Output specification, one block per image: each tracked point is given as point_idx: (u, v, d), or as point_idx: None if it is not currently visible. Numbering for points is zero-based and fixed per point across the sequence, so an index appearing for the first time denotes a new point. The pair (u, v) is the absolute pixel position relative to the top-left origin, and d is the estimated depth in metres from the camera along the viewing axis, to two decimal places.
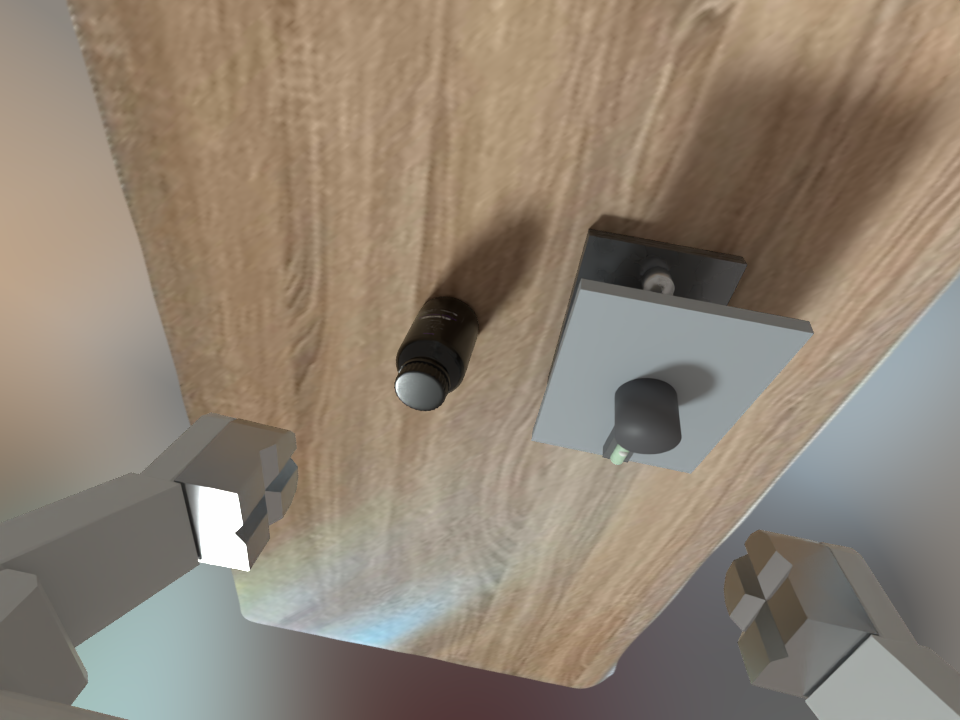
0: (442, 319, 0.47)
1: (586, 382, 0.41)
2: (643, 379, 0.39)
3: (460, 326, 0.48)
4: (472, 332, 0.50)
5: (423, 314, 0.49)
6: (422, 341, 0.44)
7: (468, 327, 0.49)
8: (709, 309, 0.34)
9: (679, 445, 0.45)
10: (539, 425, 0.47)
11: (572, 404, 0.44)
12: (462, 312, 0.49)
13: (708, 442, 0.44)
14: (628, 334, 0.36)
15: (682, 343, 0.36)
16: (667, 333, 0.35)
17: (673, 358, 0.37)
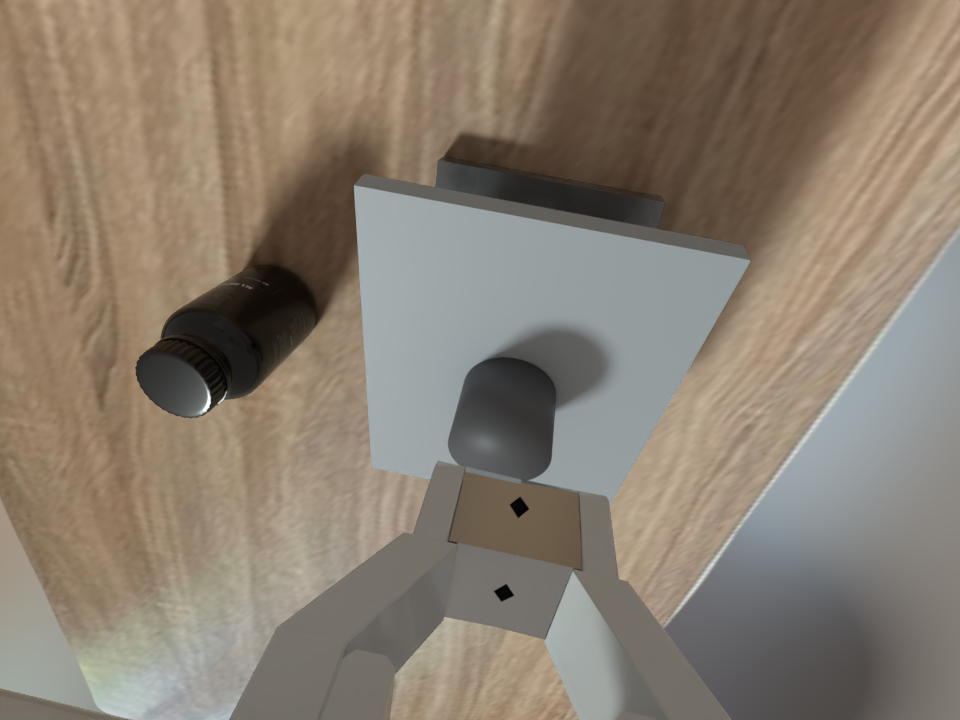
0: (240, 287, 0.33)
1: (416, 368, 0.26)
2: (497, 359, 0.25)
3: (268, 298, 0.33)
4: (294, 311, 0.35)
5: (221, 283, 0.34)
6: (189, 311, 0.30)
7: (286, 302, 0.34)
8: (573, 221, 0.20)
9: (577, 472, 0.30)
10: (374, 443, 0.31)
11: (408, 407, 0.28)
12: (280, 283, 0.35)
13: (617, 466, 0.29)
14: (454, 275, 0.22)
15: (542, 289, 0.22)
16: (514, 270, 0.21)
17: (535, 320, 0.23)
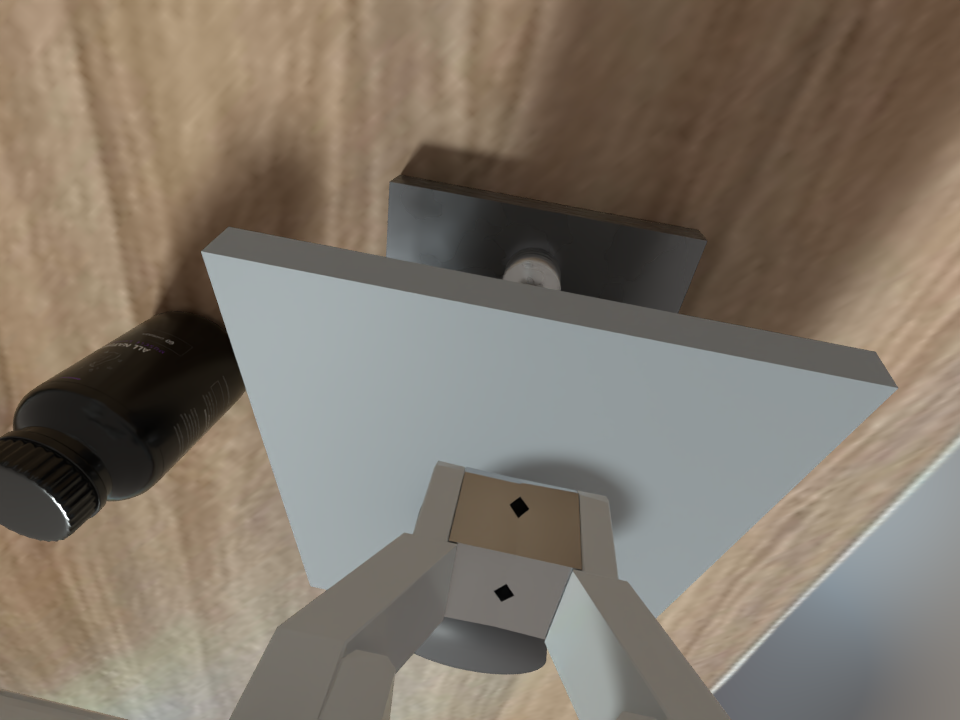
0: (130, 351, 0.24)
1: (350, 492, 0.18)
2: None
3: (169, 364, 0.25)
4: (211, 375, 0.27)
5: (113, 340, 0.26)
6: (44, 394, 0.21)
7: (198, 366, 0.26)
8: (582, 313, 0.11)
9: None
10: (308, 564, 0.23)
11: (346, 532, 0.20)
12: (193, 339, 0.27)
13: None
14: (388, 385, 0.14)
15: (530, 411, 0.13)
16: (482, 382, 0.13)
17: (519, 448, 0.14)
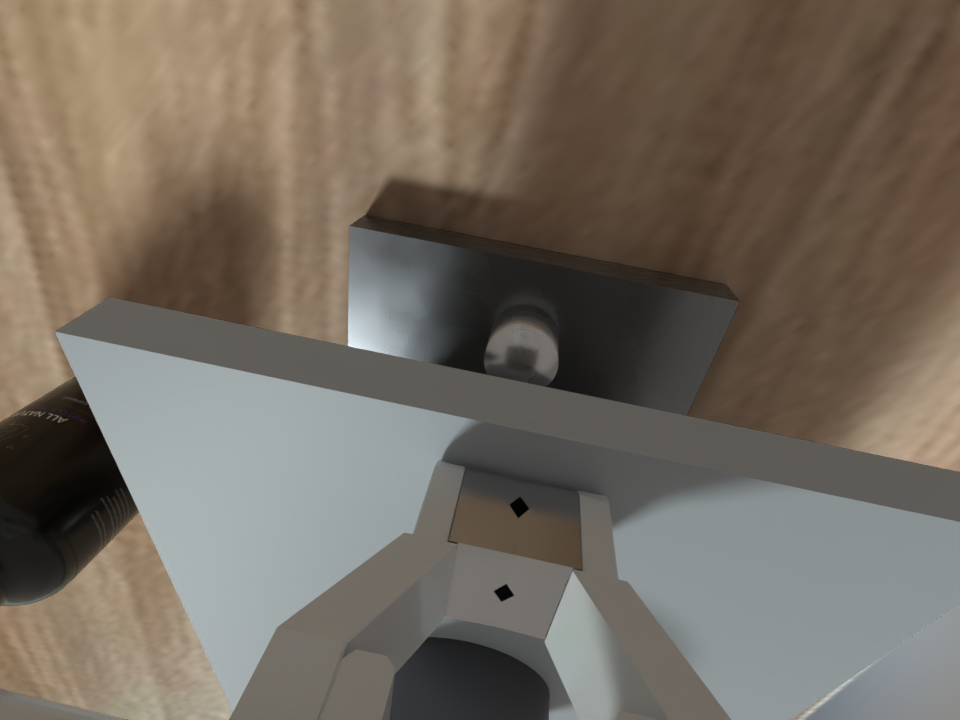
0: (41, 422, 0.20)
1: None
2: (431, 643, 0.12)
3: (91, 436, 0.21)
4: None
5: (28, 405, 0.22)
6: None
7: None
8: (589, 422, 0.08)
9: None
10: None
11: None
12: None
13: None
14: (323, 510, 0.10)
15: None
16: None
17: None
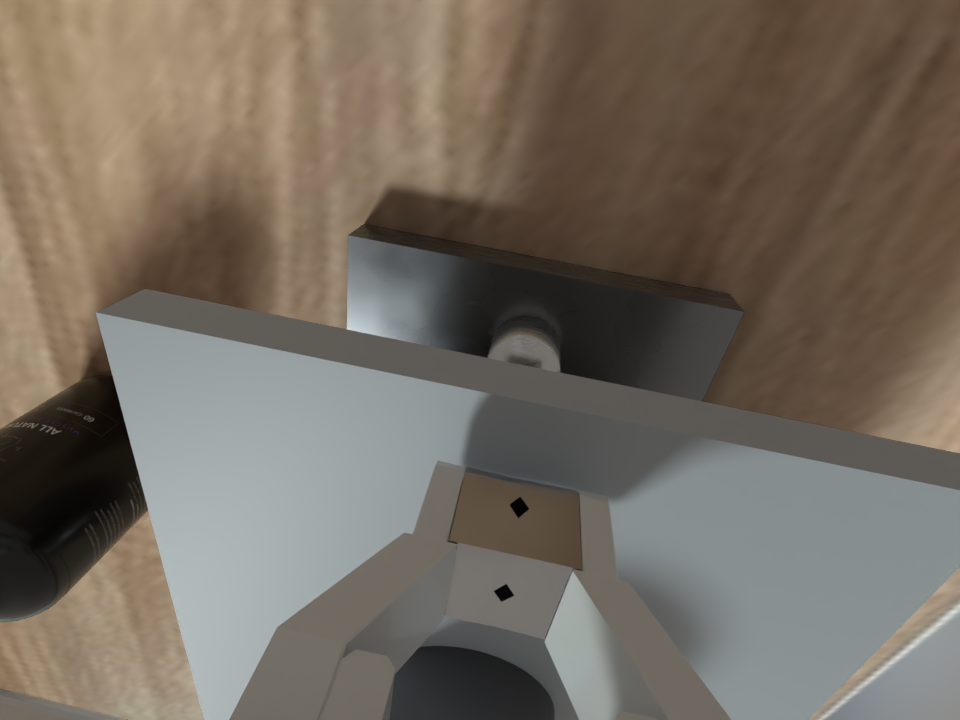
0: (34, 434, 0.20)
1: None
2: (434, 652, 0.12)
3: (84, 448, 0.20)
4: None
5: (21, 416, 0.22)
6: None
7: (124, 446, 0.22)
8: (594, 399, 0.09)
9: None
10: None
11: None
12: (120, 413, 0.22)
13: None
14: (335, 498, 0.10)
15: None
16: None
17: None
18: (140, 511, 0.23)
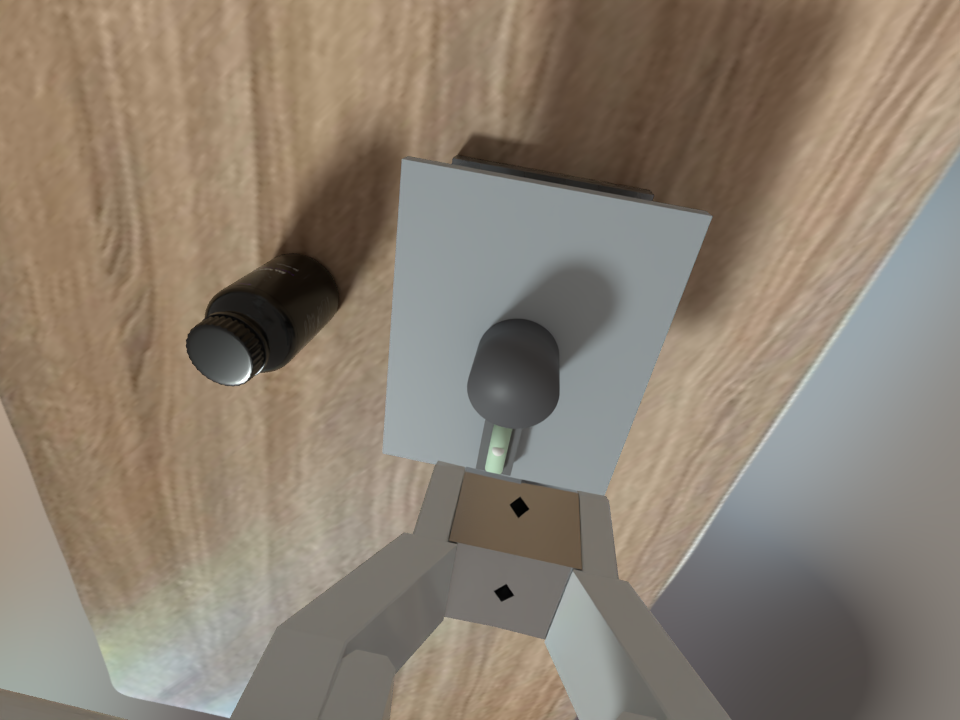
0: (274, 272, 0.36)
1: (436, 334, 0.30)
2: (509, 320, 0.29)
3: (298, 282, 0.37)
4: (321, 294, 0.39)
5: (256, 269, 0.38)
6: (232, 291, 0.33)
7: (314, 286, 0.38)
8: (573, 188, 0.25)
9: (578, 445, 0.32)
10: (388, 422, 0.34)
11: (425, 378, 0.31)
12: (308, 270, 0.39)
13: (614, 435, 0.32)
14: (476, 238, 0.27)
15: (549, 249, 0.26)
16: (526, 231, 0.26)
17: (542, 279, 0.27)
18: (318, 328, 0.39)
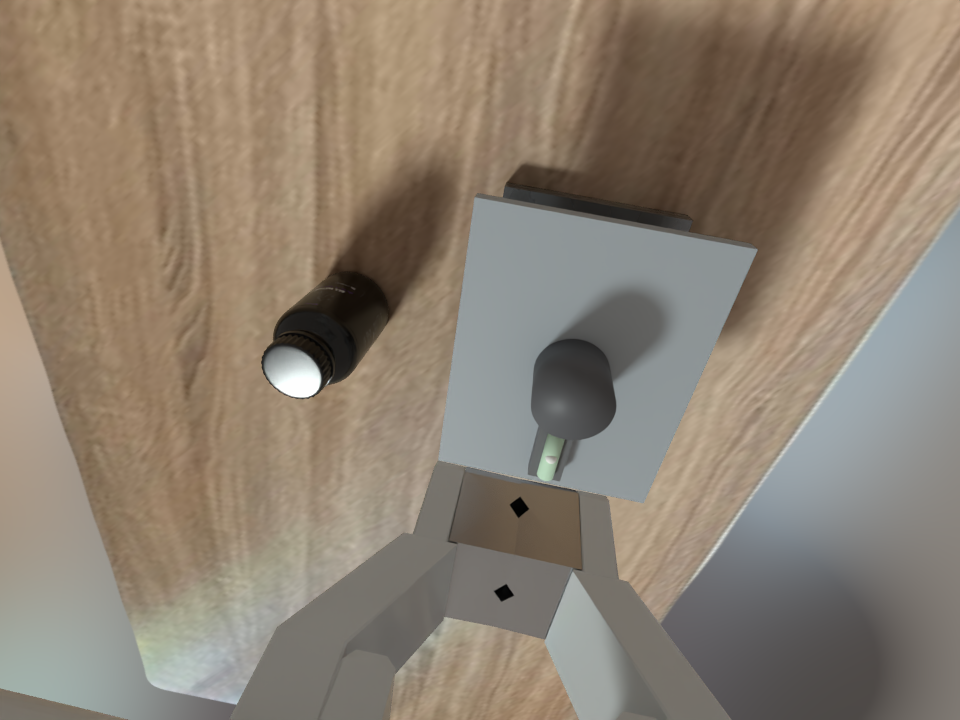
0: (334, 291, 0.39)
1: (496, 352, 0.32)
2: (565, 340, 0.31)
3: (357, 300, 0.39)
4: (375, 311, 0.41)
5: (315, 287, 0.41)
6: (301, 311, 0.36)
7: (370, 304, 0.41)
8: (630, 223, 0.28)
9: (623, 452, 0.35)
10: (445, 432, 0.36)
11: (483, 391, 0.34)
12: (364, 288, 0.41)
13: (657, 444, 0.34)
14: (539, 267, 0.29)
15: (605, 277, 0.29)
16: (585, 261, 0.29)
17: (598, 304, 0.30)
18: (373, 342, 0.42)
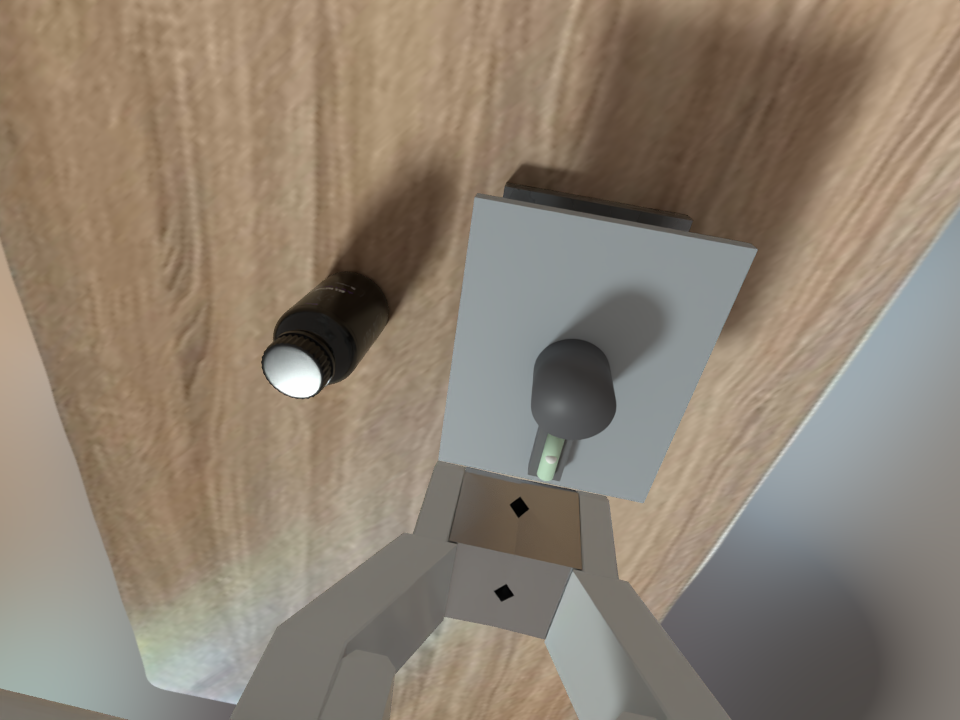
0: (335, 291, 0.39)
1: (496, 352, 0.32)
2: (565, 340, 0.31)
3: (357, 300, 0.39)
4: (375, 311, 0.41)
5: (315, 287, 0.41)
6: (301, 311, 0.36)
7: (370, 303, 0.41)
8: (630, 223, 0.28)
9: (623, 452, 0.35)
10: (445, 432, 0.36)
11: (483, 391, 0.34)
12: (364, 288, 0.41)
13: (657, 444, 0.34)
14: (539, 267, 0.29)
15: (605, 277, 0.29)
16: (585, 261, 0.29)
17: (598, 304, 0.30)
18: (373, 342, 0.42)
